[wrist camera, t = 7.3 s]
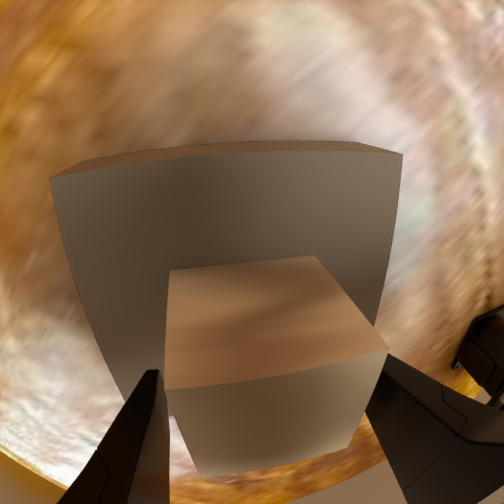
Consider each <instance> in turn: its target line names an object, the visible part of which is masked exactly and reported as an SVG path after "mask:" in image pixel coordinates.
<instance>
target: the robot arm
mask: <svg viewBox="0 0 504 504" xmlns="http://www.w3.org/2000/svg"><path fill="white" fill-rule="evenodd" d="M461 367H464V368H465V370H466V371H467V372H468V373H469V374H470V375H471V377H472V378H473V379H474V380H475V381H476V382H477V384H478V385H479V386H480V387H483V388H484V389H485V390H486V392H487V393H488V394H489V395H490V396H491V397H492V398H491V399H490V401H489V402H488V403H487V404H483V403H480V402H478V401H476V400H473V399H471V398H469V397H467V396H465V395H462V394H460V393H458V392H456V391H455V390H453V389H451V388H449V387H447V386H445V385H443V384H440V382H438V381H436V380H434V379H433V378H431V377H429V376H427V375H426V374H424V373H422V372H420V371H419V370H417V369H415V368H413V367H412V366H410V365H408V364H406V363H405V362H403V361H401V360H399V359H398V358H396V357H394V356H392V355H391V354H389V353H388V354H387V357H386V360H385V362H384V365H383V368H382V370H381V373H380V376H379V378H378V381H377V383H376V386H375V388H374V391H373V393H372V395H371V398H370V400H369V402H368V405H367V407H366V409H365V413H366V415H367V417H368V419H369V421H370V423H371V426H372V428H373V430H374V432H375V434H376V436H377V438H378V440H379V442H380V444H381V447H382V449H383V451H384V453H385V455H386V457H387V459H388V461H389V464H390V466H391V468H392V470H393V472H394V475H395V477H396V479H397V481H398V483H399V486H400V487H401V490H402V492H403V495H404V497H405V499H406V501H407V504H504V403H503V402H504V306H502V307H500V308H498V309H496V310H494V311H491V312H489V313H487V314H485V315H482V316H480V317H478V318H476V319H475V320H474V321H473V323H472V325H471V328H470V330H469V332H468V334H467V337H466V339H465V341H464V343H463V345H462V347H461V349H460V351H459V353H458V355H457V357H456V359H455V361H454V363H453V365H452V367H451V368H452V369H453V371H455V370H457V369H459V368H461ZM169 456H170V429H169V417H168V406H167V396H166V393H165V391H164V380H163V377H162V375H161V372H160V370H159V369H148V370H146V371H145V373H144V374H143V376H142V377H141V379H140V380H139V382H138V384H137V385H136V387H135V388H134V390H133V391H132V393H131V394H130V396H129V398H128V399H127V401H126V402H125V404H124V405H123V407H122V409H121V410H120V412H119V413H118V415H117V417H116V418H115V420H114V421H113V423H112V425H111V426H110V428H109V429H108V431H107V433H106V434H105V436H104V437H103V439H102V441H101V442H100V444H99V445H98V447H97V450H95V452H94V453H93V455H92V457H91V458H90V460H89V461H88V463H87V464H86V466H85V467H84V469H83V470H82V472H81V473H80V474H79V476H78V477H77V478H76V480H75V481H74V482H73V483H72V485H71V486H70V487H69V488H68V490H67V491H66V492H65V493H64V495H63V496H62V497H61V498H60V500H59V501H58V502H57V503H56V504H170V492H169Z"/></svg>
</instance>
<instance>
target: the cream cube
mask: <svg viewBox="0 0 504 504" xmlns="http://www.w3.org/2000/svg"><path fill="white" fill-rule="evenodd" d="M388 351H389V347H388V345H387V344H386V343H385V342H384V340H383V339H382V338H381V336H380V335H379V334H378V333H377V331H376V330H375V329H374V327H373V326H372V325H371V324H370V322H369V321H368V320H367V319H366V317H365V316H364V315H363V314H362V312H361V311H360V310H359V309H358V307H357V306H356V305H355V304H354V302H353V301H352V300H351V299H350V297H349V296H348V295H347V294H346V293H345V291H344V290H343V289H342V288H341V286H340V285H339V284H338V283H337V282H336V280H335V279H334V278H333V277H332V276H331V274H330V273H329V272H328V271H327V270H326V268H325V267H324V266H323V265H322V264H321V262H320V261H319V260H318V259H317V258H316V256H315V255H307V256H299V257H290V258H281V259H272V260H263V261H254V262H245V263H236V264H226V265H217V266H208V267H198V268H189V269H179V270H170V275H169V287H168V301H167V318H166V338H165V368H164V391H165V393H166V396H167V399H168V402H169V404H170V407H171V409H172V412H173V415H174V417H175V420H176V422H177V425H178V427H179V430H180V432H181V434H182V437H183V439H184V441H185V444H186V446H187V448H188V451H189V453H190V455H191V457H192V460H193V462H194V464H195V466H196V468H197V470H198V472H199V475H200V477H201V478H202V477H213V476H222V475H230V474H237V473H244V472H250V471H256V470H262V469H267V468H272V467H277V466H282V465H286V464H291V463H295V462H299V461H303V460H307V459H311V458H314V457H318V456H322V455H325V454H328V453H332V452H335V451H338V450H341V449H344V448H347V447H348V445H349V443H350V441H351V439H352V437H353V435H354V433H355V431H356V429H357V427H358V425H359V422H360V420H361V418H362V416H363V414H364V411H365V409H366V407H367V405H368V402H369V400H370V398H371V395H372V393H373V391H374V388H375V386H376V383H377V381H378V378H379V376H380V373H381V370H382V368H383V365H384V362H385V360H386V357H387V354H388Z"/></svg>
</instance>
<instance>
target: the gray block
mask: <svg viewBox="0 0 504 504" xmlns="http://www.w3.org/2000/svg"><path fill="white" fill-rule="evenodd" d="M402 158H403V154H400V153H396V152H393V151H389V150H386V149H382V148H378V147H374V146H370V145H366V144H362V143H358V142H342V141H252V142H231V143H215V144H202V145H191V146H181V147H171V148H163V149H154V150H147V151H139V152H132V153H126V154H119V155H113V156H107V157H102V158H96V159H91V160H85V161H83V162H81V163H79V164H77V165H75V166H73V167H71V168H69V169H67V170H65V171H63V172H61V173H59V174H57V175H55V176H53V177H51V178H50V183H51V189H52V194H53V199H54V204H55V209H56V214H57V218H58V223H59V227H60V231H61V235H62V239H63V243H64V247H65V250H66V254H67V258H68V261H69V265H70V268H71V271H72V274H73V278H74V281H75V284H76V287H77V290H78V293H79V296H80V299H81V302H82V304H83V307H84V310H85V313H86V315H87V318H88V321H89V323H90V326H91V328H92V331H93V333H94V336H95V338H96V341H97V343H98V345H99V348H100V350H101V352H102V355H103V357H104V359H105V361H106V363H107V366H108V368H109V370H110V372H111V374H112V376H113V378H114V380H115V382H116V384H117V386H118V388H119V390H120V392H121V394H122V396H123V398H124V400H125V402H126V401H127V399H128V398H129V396H130V394H131V393H132V391H133V390H134V388H135V387H136V385H137V384H138V382H139V380H140V379H141V377H142V376H143V374H144V373H145V371H146V370H148V369H159V370H160V372H161V375H162V377H163V380H164V368H165V338H166V318H167V301H168V287H169V275H170V270H179V269H189V268H198V267H208V266H217V265H226V264H236V263H245V262H254V261H263V260H272V259H281V258H290V257H299V256H307V255H315V256H316V258H317V259H318V260H319V261H320V262H321V264H322V265H323V266H324V267H325V268H326V270H327V271H328V272H329V273H330V274H331V276H332V277H333V278H334V279H335V280H336V282H337V283H338V284H339V285H340V286H341V288H342V289H343V290H344V291H345V293H346V294H347V295H348V296H349V297H350V299H351V300H352V301H353V302H354V304H355V305H356V306H357V307H358V309H359V310H360V311H361V312H362V314H363V315H364V316H365V317H366V319H367V320H368V321H369V322H370V324H371V325H372V326H373V327H374V323H375V319H376V316H377V312H378V308H379V303H380V299H381V295H382V290H383V286H384V281H385V277H386V272H387V267H388V262H389V257H390V251H391V245H392V240H393V234H394V227H395V221H396V214H397V206H398V198H399V190H400V181H401V170H402ZM167 406H168V416H174V415H173V412H172V409H171V407H170V404H169V402H168V399H167Z"/></svg>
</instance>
